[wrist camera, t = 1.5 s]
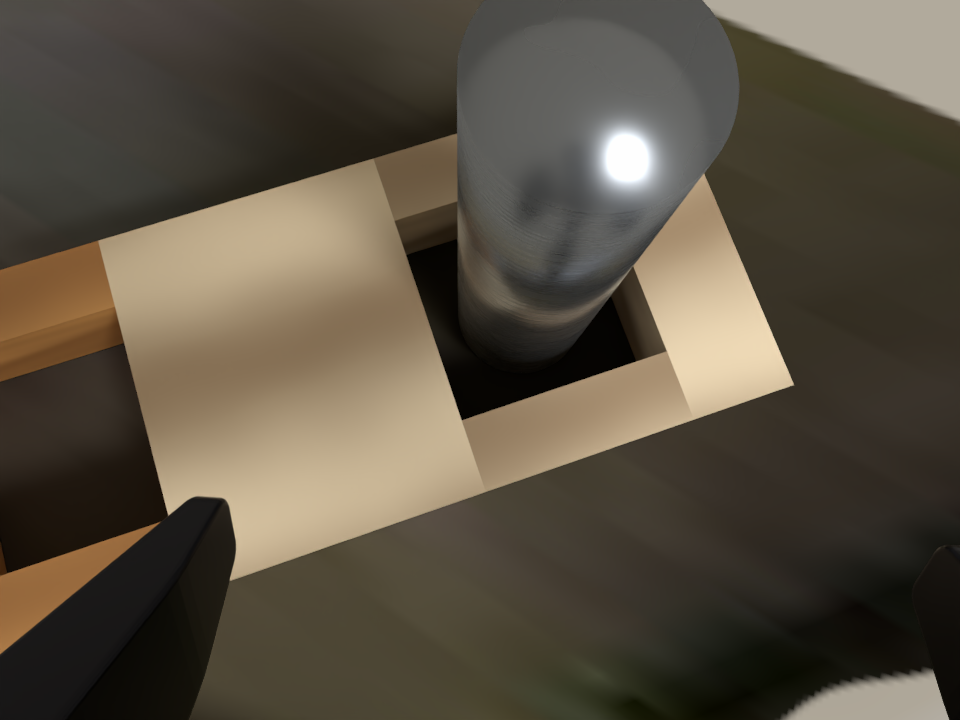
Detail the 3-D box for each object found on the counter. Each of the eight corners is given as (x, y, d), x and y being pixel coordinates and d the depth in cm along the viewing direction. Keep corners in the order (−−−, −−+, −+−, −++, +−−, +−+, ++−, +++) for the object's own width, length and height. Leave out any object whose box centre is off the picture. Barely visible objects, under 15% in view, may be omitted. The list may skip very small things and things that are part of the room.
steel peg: (599, 350, 22) (783, 161, 10) (481, 390, 22) (512, 247, 9) (556, 238, 23) (676, -77, 10) (441, 275, 23) (419, -5, 10)
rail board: (749, 399, 22) (794, 384, 19) (-47, 676, 20) (-133, 706, 17) (636, 124, 24) (660, 72, 21) (-110, 351, 22) (-199, 329, 19)
